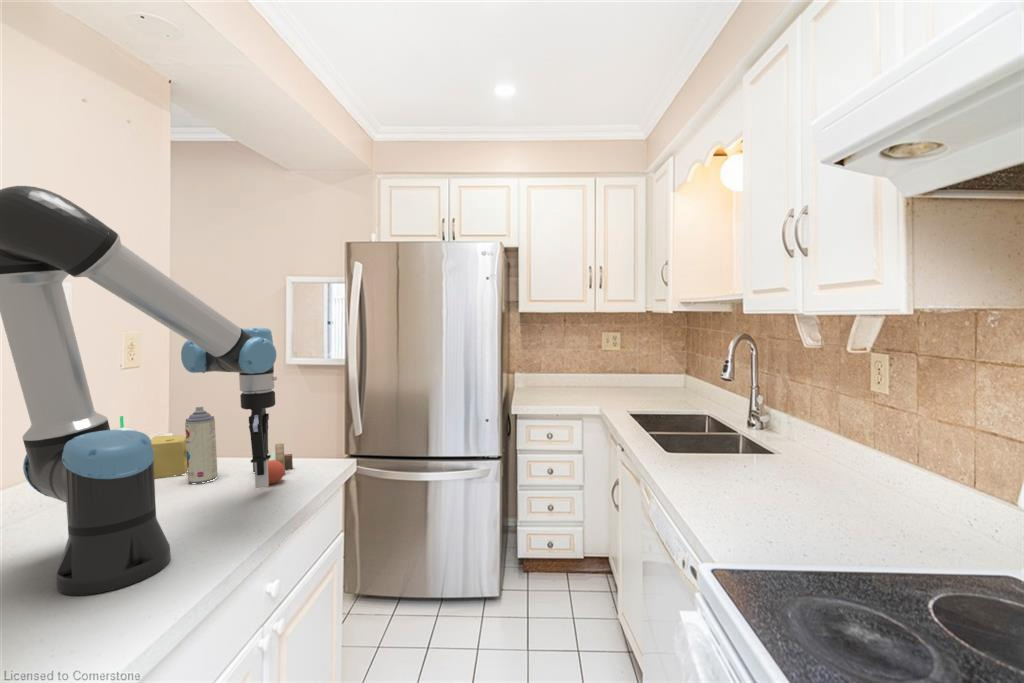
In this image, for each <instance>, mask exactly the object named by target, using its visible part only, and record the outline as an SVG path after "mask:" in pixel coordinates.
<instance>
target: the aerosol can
mask: <svg viewBox="0 0 1024 683" xmlns="http://www.w3.org/2000/svg"><path fill="white" fill-rule="evenodd" d="M215 420H216V419H215V416H214V415H211V414H210V413H209V412H207V411H206V410H204V406H195V410H194V412H193V413H192V414H189V417H188V418H186V419H185V422H184V423H185V424H184V426H185V427H184V429H185V430H184V431H185V437H186V450H187V469H188V472H187V482H189V483H202V482H207V481H210V480H213V479H215V478H216V477H217V476H218V460H217V459H218V457H217V440H216V439H217V435H216V421H215ZM218 477H219V476H218ZM189 483H188V484H189Z"/></svg>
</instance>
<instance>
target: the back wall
mask: <svg viewBox="0 0 1024 683" xmlns="http://www.w3.org/2000/svg"><path fill="white" fill-rule="evenodd" d="M268 459H269V458H267V460H268ZM284 459H285V471H288V470H287V469H291V470H293V467H294V466H293V464H294V463H293V453H286V454H284ZM253 472H255V466H254V462H253V463H252V473H253Z"/></svg>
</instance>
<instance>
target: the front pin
mask: <svg viewBox="0 0 1024 683" xmlns="http://www.w3.org/2000/svg"><path fill="white" fill-rule="evenodd" d="M269 455H271V458H269V459H268V461H270V460H276V455H275V449H274V450H271V451H269Z"/></svg>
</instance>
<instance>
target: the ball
mask: <svg viewBox="0 0 1024 683" xmlns="http://www.w3.org/2000/svg"><path fill="white" fill-rule="evenodd" d="M284 476H285V475H284V466H283V465H282V463H280V462H279V461H276V460H270V461H268V481H269V485H273V484H277V483H279V481H281V480H282V479H283V477H284Z"/></svg>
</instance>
